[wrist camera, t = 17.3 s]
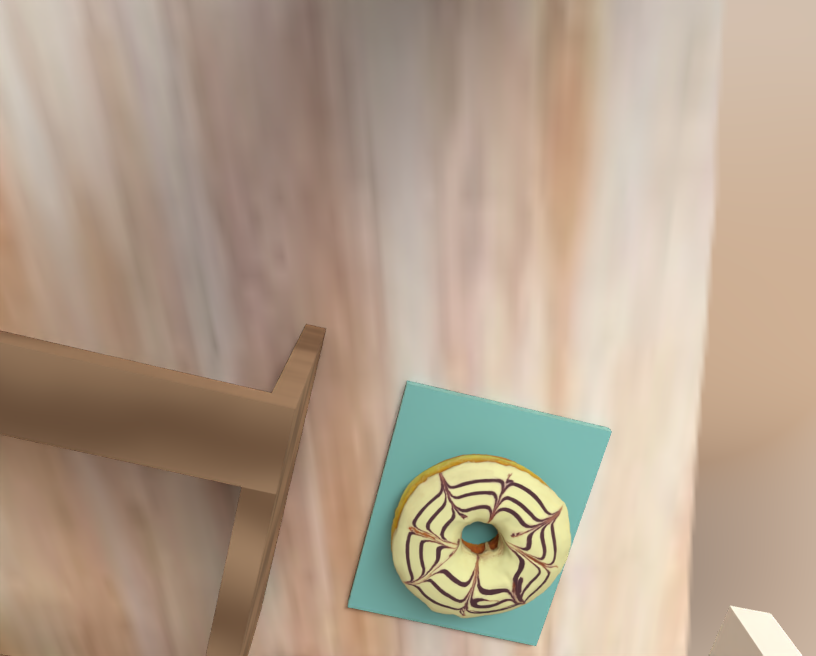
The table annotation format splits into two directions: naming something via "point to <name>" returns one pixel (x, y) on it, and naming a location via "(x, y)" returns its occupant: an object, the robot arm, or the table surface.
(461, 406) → the mat
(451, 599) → the decorated donut
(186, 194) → the table surface
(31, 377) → the box
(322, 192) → the table surface
